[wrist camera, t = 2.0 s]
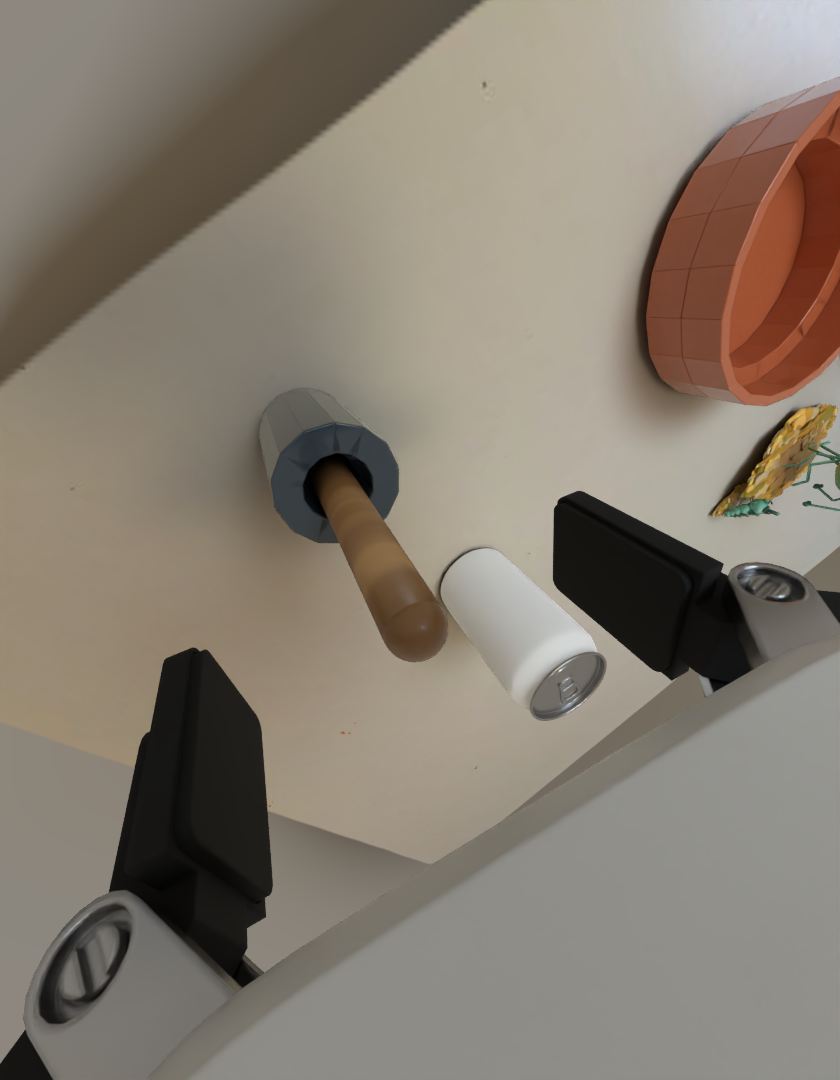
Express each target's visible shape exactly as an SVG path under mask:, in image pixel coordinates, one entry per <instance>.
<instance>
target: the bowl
mask: <svg viewBox="0 0 840 1080" xmlns="http://www.w3.org/2000/svg"><path fill="white" fill-rule="evenodd" d="M646 324H647V335H648V346H649V355H650V357H651V359H652V361H653V363H654V366H655V368H656V370H657V372H658V375H659V377H660V378H661V379H662V380H663V381H665V382H666V383H667V384H668V385H670V386H671V387H672V388H674V389H675V390H676V391H678V392H682V393H687V394H692V395H698V396H703V397H708V398H713V399H718V400H723V401H728V402H733V403H739V404H744V405H755V406H768V405H770V404H773V403H775V402H778V401H780V400H783V399H785V398H788V397H790V396H792V395H794V394H795V393H796V392H798V391H799V390H800V389H802V388H803V387H804V386H806V385H807V384H808V383H810V382H811V381H812V380H814V379H815V378H816V377H818V376H819V375H820V374H821V373H822V372H823V371H824V370H825V369H826V368H827V367H828V366H829V365H830V364H831V363H832V361H833V360H834V359H835V358H836V357H837V356H838V355H839V354H840V77H837V78H834V79H832V80H829V81H826V82H824V83H821V84H819V85H816V86H813V87H810V88H807V89H805V90H802V91H799V92H797V93H794V94H791V95H789V96H786V97H783V98H781V99H778V100H775V101H773V102H770V103H767V104H765V105H763V106H761V107H760V108H759V109H757V110H756V111H754V112H753V113H752V114H750V115H749V116H747V117H746V118H744V119H743V120H742V121H740V122H739V123H737V124H736V125H735V126H733V127H732V128H730V130H728V131H727V133H726V134H725V135H724V136H723V137H722V139H721V140H720V141H719V142H718V144H717V145H716V146H715V147H714V148H713V150H712V151H711V152H710V153H709V155H708V156H707V157H706V158H705V160H704V161H703V162H702V163H701V164H700V166H699V167H698V168H697V170H696V171H695V172H694V174H693V176H692V178H691V180H690V181H689V183H688V185H687V187H686V189H685V191H684V193H683V195H682V197H681V198H680V200H679V202H678V204H677V206H676V208H675V210H674V212H673V214H672V215H671V217H670V219H669V222H668V225H667V228H666V231H665V234H664V237H663V240H662V243H661V246H660V249H659V252H658V256H657V259H656V262H655V265H654V268H653V272H652V276H651V283H650V291H649V298H648V305H647V313H646Z"/></svg>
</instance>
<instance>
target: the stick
mask: <svg viewBox="0 0 840 1080" xmlns="http://www.w3.org/2000/svg"><path fill="white" fill-rule="evenodd" d="M307 474H308V476H309V478H310V480H311V482H312V485H313V487H314V489H315V491H316V493H317V496H318V498H319V500H320V502H321V504H322V507H323V509H324V511H325V513H326V515H327V518H328V520H329V522H330V524H331V526H332V529H333V531H334V533H335V535H336V537H337V539H338V542H339V544H340V546H341V548H342V550H343V553H344V555H345V557H346V559H347V561H348V564H349V566H350V568H351V570H352V572H353V575H354V577H355V579H356V581H357V583H358V586H359V588H360V590H361V592H362V594H363V597H364V599H365V601H366V603H367V605H368V608H369V610H370V612H371V614H372V616H373V619H374V621H375V623H376V625H377V627H378V630H379V632H380V634H381V636H382V638H383V640H384V643H385V644H386V646H387V648H388V649H389V650H390V651H391V652H392V653H393V654H394V655H395V656H396V657H398V658H400V659H402V660H404V661H409V662H421V661H425V660H428V659H430V658H432V657H433V656H435V655H436V654H437V653H438V652H439V651H440V650H441V648H442V647H443V645H444V644H445V641H446V638H447V635H448V621H447V617H446V614H445V612H444V610H443V609H442V607H441V606H440V604H439V603H438V601H437V600H436V598H435V597H434V595H433V594H432V592H431V591H430V589H429V588H428V586H427V585H426V583H425V582H424V580H423V579H422V577H421V576H420V574H419V573H418V571H417V570H416V568H415V567H414V565H413V564H412V562H411V561H410V559H409V558H408V556H407V555H406V553H405V552H404V550H403V549H402V547H401V546H400V544H399V543H398V541H397V540H396V538H395V537H394V535H393V534H392V532H391V531H390V529H389V528H388V526H387V525H386V523H385V522H384V520H383V519H382V517H381V516H380V514H379V513H378V511H377V510H376V508H375V507H374V505H373V504H372V502H371V501H370V499H369V498H368V496H367V495H366V493H365V492H364V490H363V489H362V487H361V486H360V484H359V483H358V481H357V480H356V478H355V477H354V475H353V474H352V472H351V471H350V469H349V468H348V466H347V465H346V463H345V462H344V460H343V459H342V457H341V456H340V454H338V453H336V454H333V455H329V456H326V457H323V458H321V459H320V460H319V461H317V462H316V463H315V464H314V465H313V466H312V467H311V468H310V469H309V470H308V473H307Z"/></svg>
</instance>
